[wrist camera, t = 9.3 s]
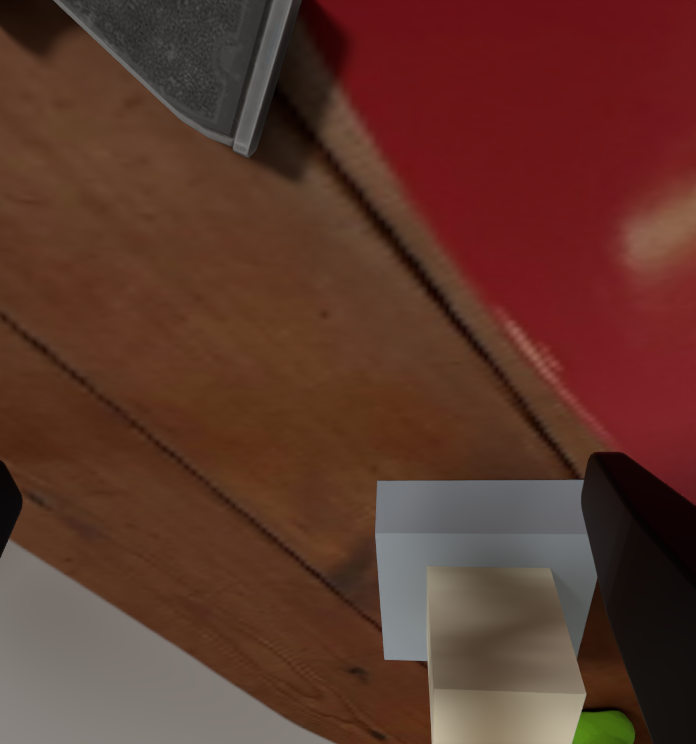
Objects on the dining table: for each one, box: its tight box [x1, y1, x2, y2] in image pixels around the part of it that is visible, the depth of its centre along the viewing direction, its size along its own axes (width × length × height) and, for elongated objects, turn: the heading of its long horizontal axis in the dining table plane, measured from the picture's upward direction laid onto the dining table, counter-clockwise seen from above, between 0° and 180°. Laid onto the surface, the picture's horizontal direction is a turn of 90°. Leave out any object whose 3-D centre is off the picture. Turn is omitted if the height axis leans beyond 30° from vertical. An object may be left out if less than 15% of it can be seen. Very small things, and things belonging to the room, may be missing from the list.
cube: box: [427, 566, 586, 744], centre depth 22 cm, size 5×5×5 cm
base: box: [375, 480, 597, 661], centre depth 25 cm, size 9×9×3 cm
